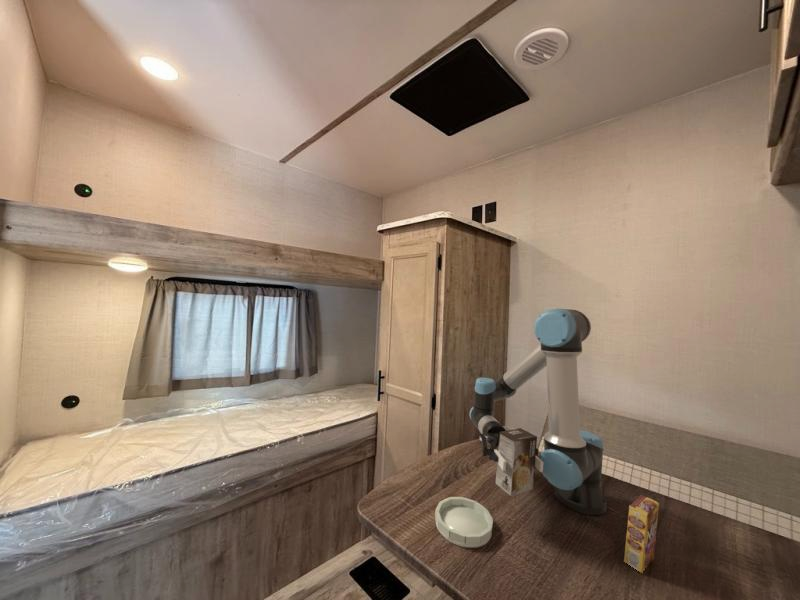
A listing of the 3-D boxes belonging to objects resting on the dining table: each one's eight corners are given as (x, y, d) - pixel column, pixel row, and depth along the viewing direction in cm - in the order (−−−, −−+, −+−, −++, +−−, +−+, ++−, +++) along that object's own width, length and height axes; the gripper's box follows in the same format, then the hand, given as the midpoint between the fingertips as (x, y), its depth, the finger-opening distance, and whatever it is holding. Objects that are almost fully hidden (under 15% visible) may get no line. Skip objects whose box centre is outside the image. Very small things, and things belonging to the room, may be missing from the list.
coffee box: (516, 477, 95) (521, 427, 95) (533, 489, 90) (538, 436, 89) (494, 483, 91) (499, 431, 91) (510, 497, 85) (516, 441, 85)
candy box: (643, 576, 75) (647, 514, 74) (623, 563, 78) (626, 504, 78) (656, 560, 80) (659, 502, 80) (636, 548, 83) (639, 493, 83)
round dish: (479, 505, 97) (479, 496, 97) (501, 546, 81) (502, 535, 81) (430, 506, 95) (431, 497, 95) (443, 548, 79) (443, 537, 79)
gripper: (521, 442, 109) (559, 480, 87) (460, 440, 107) (483, 478, 85) (523, 421, 109) (562, 455, 87) (462, 419, 107) (485, 452, 85)
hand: (523, 466), depth 86 cm, fingers closed on coffee box, 10 cm apart
